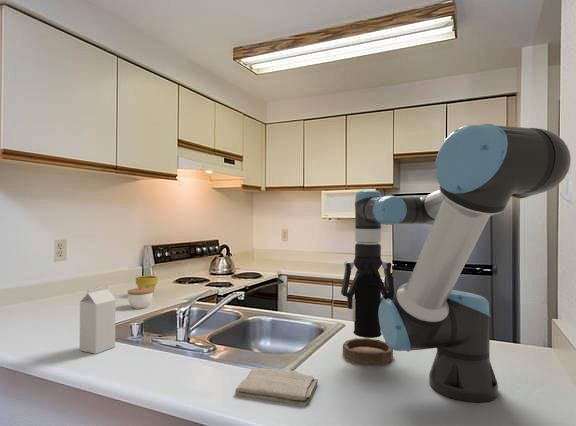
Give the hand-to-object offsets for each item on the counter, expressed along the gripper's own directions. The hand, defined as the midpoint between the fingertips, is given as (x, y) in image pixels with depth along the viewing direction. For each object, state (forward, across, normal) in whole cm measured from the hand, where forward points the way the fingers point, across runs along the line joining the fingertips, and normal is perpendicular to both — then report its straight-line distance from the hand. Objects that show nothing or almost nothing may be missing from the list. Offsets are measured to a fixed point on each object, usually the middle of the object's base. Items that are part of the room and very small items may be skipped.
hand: (367, 319), depth 113 cm
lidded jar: (+11, +85, -66) cm, 108 cm away
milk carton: (+11, +82, -12) cm, 84 cm away
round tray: (+11, 0, 0) cm, 11 cm away
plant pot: (+11, +89, -90) cm, 127 cm away
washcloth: (+11, +28, +20) cm, 36 cm away
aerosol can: (+4, 0, 0) cm, 4 cm away
